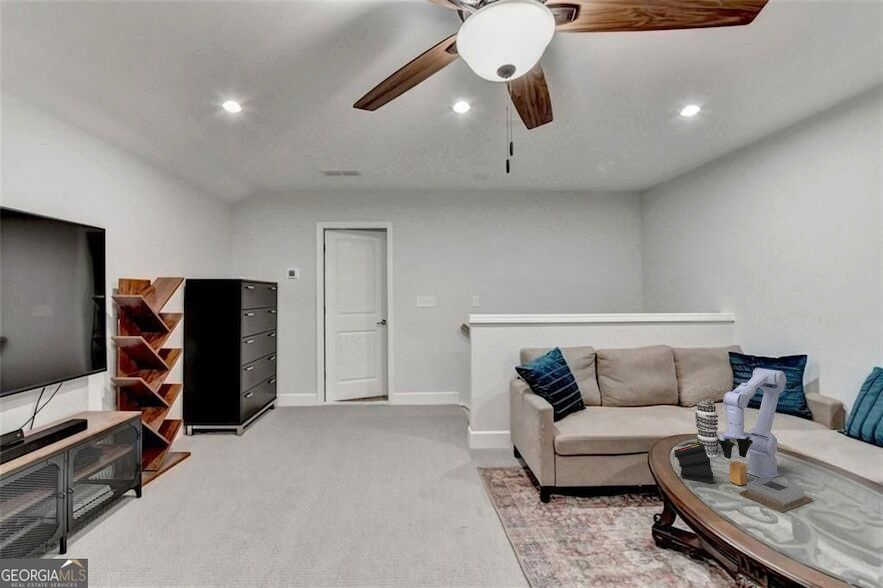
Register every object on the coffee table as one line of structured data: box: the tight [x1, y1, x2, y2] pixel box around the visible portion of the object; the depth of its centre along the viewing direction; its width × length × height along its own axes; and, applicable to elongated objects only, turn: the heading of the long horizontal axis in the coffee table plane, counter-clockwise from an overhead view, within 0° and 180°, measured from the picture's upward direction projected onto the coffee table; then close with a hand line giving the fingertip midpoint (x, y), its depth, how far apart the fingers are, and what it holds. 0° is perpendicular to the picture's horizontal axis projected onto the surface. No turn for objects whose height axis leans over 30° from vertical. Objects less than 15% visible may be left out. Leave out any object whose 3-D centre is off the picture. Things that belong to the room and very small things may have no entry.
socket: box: [739, 476, 814, 514], centre depth 152 cm, size 18×14×4 cm
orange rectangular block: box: [729, 460, 748, 486], centre depth 164 cm, size 4×4×8 cm
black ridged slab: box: [673, 443, 714, 485], centre depth 168 cm, size 4×13×15 cm, turn 58°
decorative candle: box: [694, 398, 720, 458], centre depth 194 cm, size 9×9×25 cm
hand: (735, 457), depth 163 cm, fingers open, 7 cm apart
